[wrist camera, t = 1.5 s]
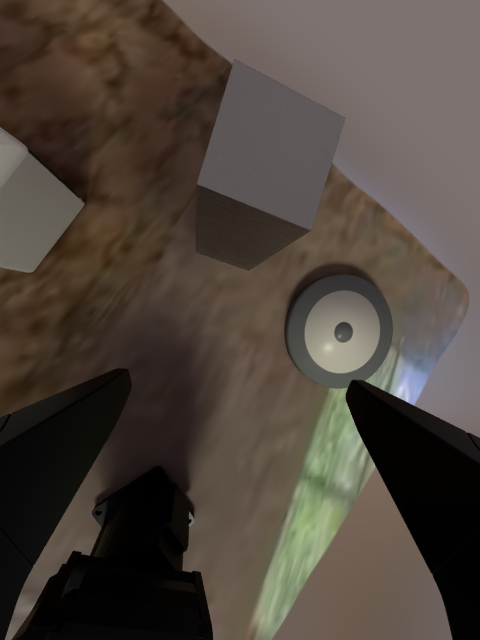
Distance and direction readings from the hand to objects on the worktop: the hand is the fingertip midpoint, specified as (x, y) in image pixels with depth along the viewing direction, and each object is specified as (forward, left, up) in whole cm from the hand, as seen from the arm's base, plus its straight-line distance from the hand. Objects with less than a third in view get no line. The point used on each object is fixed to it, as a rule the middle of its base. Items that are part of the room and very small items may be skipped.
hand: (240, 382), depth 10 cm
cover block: (+6, +8, -12) cm, 16 cm away
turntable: (+11, -5, -12) cm, 17 cm away
